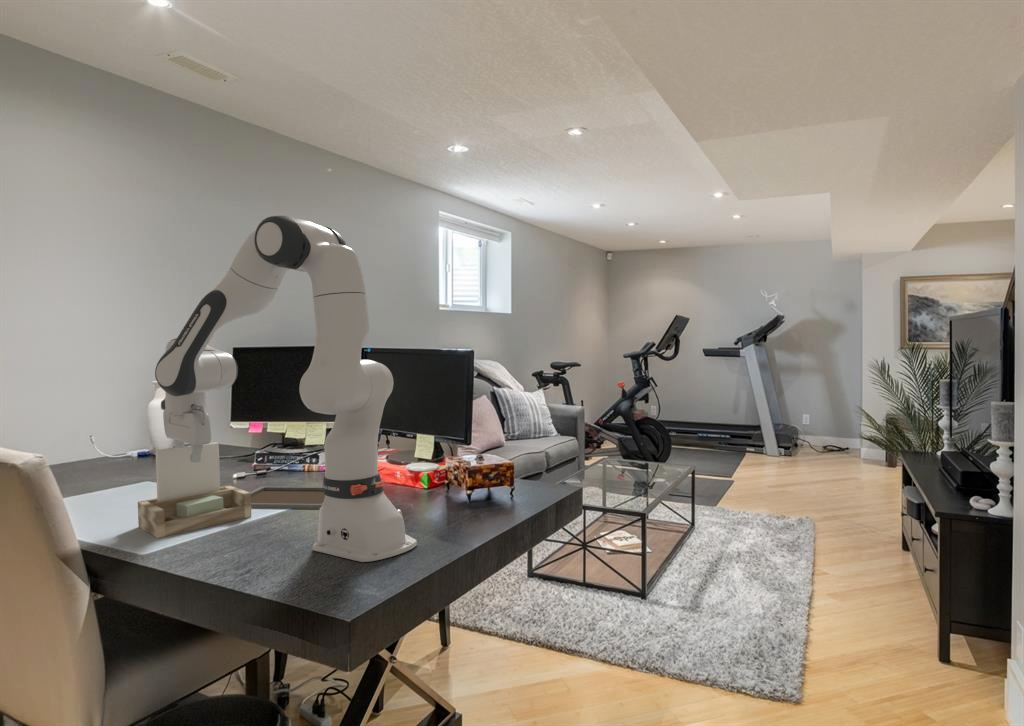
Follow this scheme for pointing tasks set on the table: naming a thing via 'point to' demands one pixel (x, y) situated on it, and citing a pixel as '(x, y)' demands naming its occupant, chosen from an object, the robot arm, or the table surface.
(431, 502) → the table surface
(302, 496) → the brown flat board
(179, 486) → the off-white rectangular board
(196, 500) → the offcut top
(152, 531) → the rack
